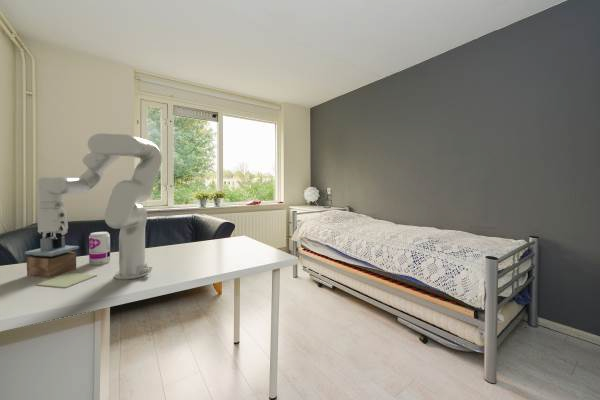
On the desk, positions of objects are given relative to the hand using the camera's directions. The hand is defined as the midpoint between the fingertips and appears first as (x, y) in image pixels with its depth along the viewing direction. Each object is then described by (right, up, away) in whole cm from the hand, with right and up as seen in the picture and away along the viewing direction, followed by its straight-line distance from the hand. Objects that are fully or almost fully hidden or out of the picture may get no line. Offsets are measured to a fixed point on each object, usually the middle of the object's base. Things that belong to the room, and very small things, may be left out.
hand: (53, 247), depth 110 cm
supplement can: (+8, -11, +16) cm, 21 cm away
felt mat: (+13, -12, -7) cm, 19 cm away
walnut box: (-1, -11, +1) cm, 11 cm away
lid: (0, -3, 0) cm, 3 cm away
